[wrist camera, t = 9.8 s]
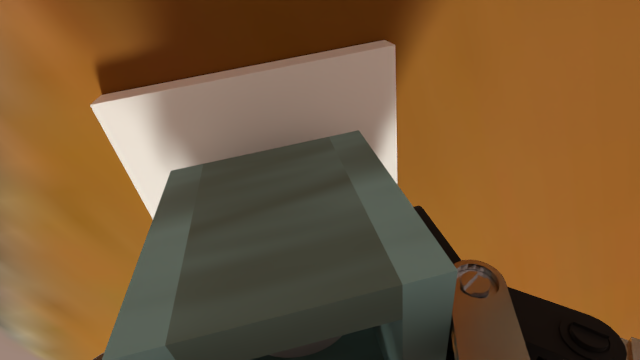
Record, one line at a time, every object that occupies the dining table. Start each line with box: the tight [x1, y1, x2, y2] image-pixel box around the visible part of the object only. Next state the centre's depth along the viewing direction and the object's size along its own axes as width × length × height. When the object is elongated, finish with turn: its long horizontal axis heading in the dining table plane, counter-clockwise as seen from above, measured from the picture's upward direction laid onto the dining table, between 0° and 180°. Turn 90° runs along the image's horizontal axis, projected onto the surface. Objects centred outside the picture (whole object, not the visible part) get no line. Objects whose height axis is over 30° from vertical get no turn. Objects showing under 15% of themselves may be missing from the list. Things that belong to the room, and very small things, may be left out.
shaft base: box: [90, 40, 397, 358], centre depth 11 cm, size 10×10×7 cm
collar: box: [102, 130, 458, 360], centre depth 10 cm, size 6×6×6 cm
